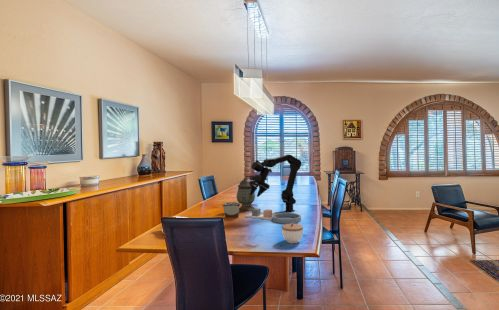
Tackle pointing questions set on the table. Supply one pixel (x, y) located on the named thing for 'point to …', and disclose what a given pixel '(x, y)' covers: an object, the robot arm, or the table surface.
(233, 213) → the food container
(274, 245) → the table surface
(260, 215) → the parts tray
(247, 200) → the grey stone urn
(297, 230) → the lidded jar
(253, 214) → the gray chunky prism
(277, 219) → the bowl
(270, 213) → the matte tan cube
